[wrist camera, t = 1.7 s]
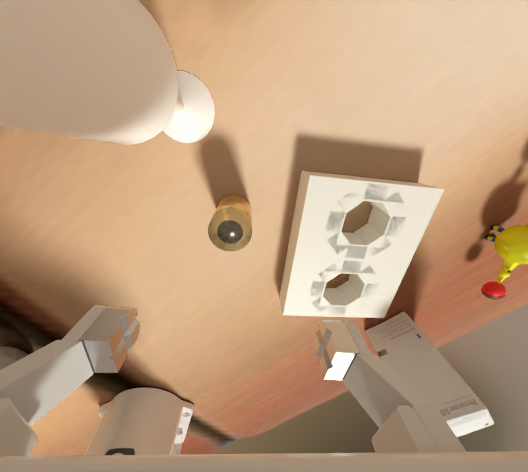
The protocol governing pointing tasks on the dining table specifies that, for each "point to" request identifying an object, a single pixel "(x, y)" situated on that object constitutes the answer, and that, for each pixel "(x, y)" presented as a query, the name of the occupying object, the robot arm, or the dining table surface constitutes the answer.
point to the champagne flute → (95, 74)
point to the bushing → (231, 224)
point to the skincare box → (428, 373)
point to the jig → (352, 244)
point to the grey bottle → (10, 356)
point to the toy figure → (507, 255)
